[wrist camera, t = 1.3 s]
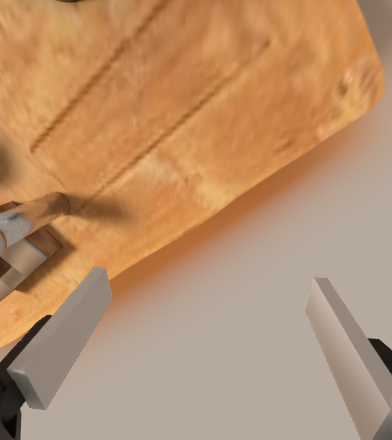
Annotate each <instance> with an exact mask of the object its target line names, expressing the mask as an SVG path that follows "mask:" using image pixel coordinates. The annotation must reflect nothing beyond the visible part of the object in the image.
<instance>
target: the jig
mask: <svg viewBox="0 0 392 440" xmlns="http://www.w3.org/2000/svg"><path fill="white" fill-rule="evenodd" d="M15 207H17V205H16V204H15V203H14V202H13V201H11V202H9V203H6V204H3V205H1V206H0V213H2V212H5V211H7V210H10V209H12V208H15ZM60 247H62V245H61V244H60V243H59V242H58V241H57V240H56V239H54V238H53V237H52V236H51V235H50V234H49V233H48V232H46V231H45V230H44V229H43V228H42V227H41V228H40V229H38V230H36V231H34V232H33V233H31V234H29V235H28V236H26V237H24V238H22V239H21V240H19V241H17V242H16V243H14V244H12V245H10V246H9V247H7V248H6V249H5V251H3V252H2V253H0V301H2V300H3V299H4V298H5V297H6V296H8V295H9V294H10V293H11V292H13V291H14V290H15V289H16V288H17V287H18V286H19V285H21V284H22V283H23V282H24V281H25V280H26V279H27V278H28V277H29V276H30V275H31V274H32V273H33V272H35V271H36V270H37V269H38V268H39V267H40V266H41V265H42V264H43V263H44V262H45V261H46V260H48V259H49V258H50V257H51V256H52V255H53V254H54V253H55V252H56V251H57V250H58V249H59V248H60Z"/></svg>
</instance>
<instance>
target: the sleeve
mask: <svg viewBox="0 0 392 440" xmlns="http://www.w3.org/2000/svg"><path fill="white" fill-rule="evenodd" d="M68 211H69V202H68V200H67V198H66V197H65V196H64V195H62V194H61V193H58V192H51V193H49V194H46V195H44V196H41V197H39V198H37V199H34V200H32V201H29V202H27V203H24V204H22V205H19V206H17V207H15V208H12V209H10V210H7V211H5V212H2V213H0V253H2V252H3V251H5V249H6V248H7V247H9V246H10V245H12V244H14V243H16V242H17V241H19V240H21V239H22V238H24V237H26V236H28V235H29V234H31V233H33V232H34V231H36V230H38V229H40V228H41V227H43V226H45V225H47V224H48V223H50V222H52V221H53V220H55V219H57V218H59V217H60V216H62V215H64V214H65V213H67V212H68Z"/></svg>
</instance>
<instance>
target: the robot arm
mask: <svg viewBox="0 0 392 440" xmlns="http://www.w3.org/2000/svg"><path fill="white" fill-rule="evenodd" d="M58 1H63V2H73V1H78V0H58ZM112 300H113V297H112V293H111V289H110V284H109V280H108V276H107V272H106V267H94V268H93V269H92V270H91V272H90V273H89V274H88V275H87V276H86V277H85V279H84V280H83V281H82V282H81V283H80V284H79V285H78V287H77V288H76V289H75V290H74V291H73V292H72V294H71V295H70V296H69V297H68V298H67V299H66V301H65V302H64V303H63V304H62V305H61V306H60V308H59V309H58V310H57V311H56V312H55V313H54V315H46V316H45V317H43V318H42V319H41V320H39V321H38V322H36V324H35V325H34V326H33V327H32V328H31V329H30V330H29V331H28V333H27V334H26V335H25V336H24V337H23V338H22V339H21V341H19V342H18V343H17V345H16V346H15V347H14V348H13V349H12V350H11V351H10V352H9V353H8V354H7V356H6V357H5V358H4V359H3V360H2V361H1V362H0V440H20V433H21V410H20V408H21V406H22V405H23V403H24V402H25V401H26V402H27V404H28V406H29V407H30V408H33V409H41V410H46V409H47V407H48V406H49V404H50V402H51V400H52V399H53V397H54V396H55V394H56V392H57V391H58V389H59V387H60V386H61V384H62V382H63V381H64V379H65V378H66V376H67V374H68V373H69V371H70V369H71V367H72V366H73V364H74V363H75V361H76V359H77V358H78V356H79V354H80V352H81V351H82V349H83V348H84V346H85V344H86V343H87V341H88V339H89V338H90V336H91V334H92V333H93V331H94V329H95V328H96V326H97V325H98V323H99V321H100V320H101V318H102V316H103V315H104V313H105V311H106V310H107V308H108V306H109V305H110V303H111V301H112ZM305 312H306V314H307V316H308V318H309V321H310V323H311V325H312V327H313V330H314V332H315V335H316V337H317V339H318V342H319V344H320V346H321V348H322V351H323V353H324V355H325V358H326V360H327V362H328V365H329V367H330V369H331V372H332V374H333V376H334V378H335V381H336V383H337V385H338V388H339V390H340V392H341V395H342V397H343V399H344V402H345V404H346V406H347V408H348V411H349V413H350V415H351V417H352V420H353V422H354V424H355V427H356V429H357V431H358V433H359V436H360V438H361V440H392V350H391V349H390V348H389V347H387V346H386V345H385V344H384V343H383V342H382V341H380V340H379V339H370V338H367V337H366V336H365V334H364V333H363V331H362V330H361V328H360V327H359V325H358V324H357V322H356V321H355V319H354V318H353V316H352V315H351V313H350V312H349V310H348V309H347V307H346V306H345V304H344V302H343V301H342V299H341V298H340V297H339V295H338V293H337V292H336V290H335V289H334V287H333V286H332V284H331V283H330V281H329V280H328V278H316V277H315V278H314V279H313V283H312V287H311V291H310V295H309V299H308V303H307V307H306V311H305Z"/></svg>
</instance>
